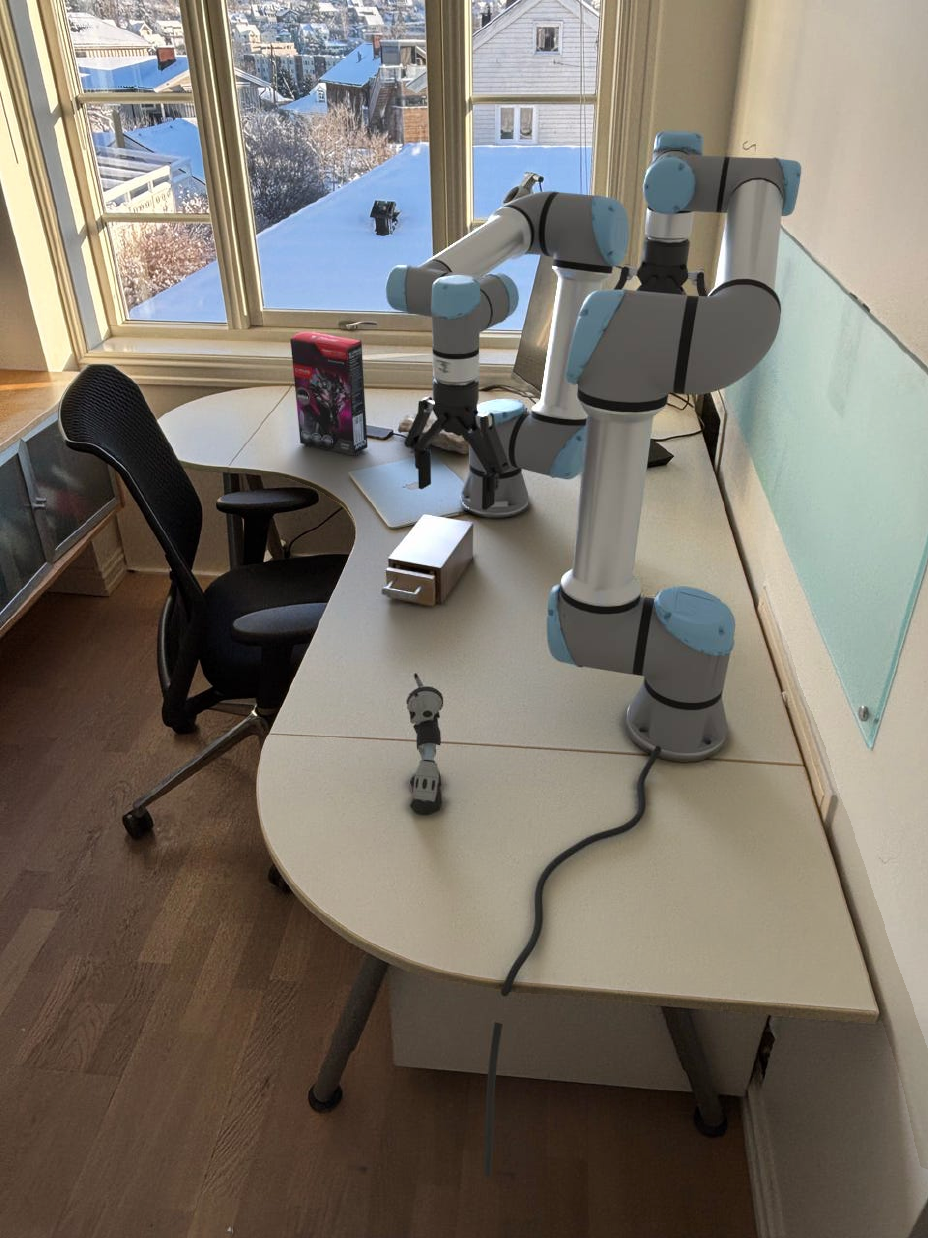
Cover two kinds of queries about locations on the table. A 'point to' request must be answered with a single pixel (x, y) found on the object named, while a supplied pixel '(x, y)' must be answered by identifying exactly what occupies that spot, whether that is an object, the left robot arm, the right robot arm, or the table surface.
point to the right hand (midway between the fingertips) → (651, 364)
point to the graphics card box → (329, 392)
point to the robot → (426, 746)
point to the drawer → (411, 584)
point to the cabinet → (437, 550)
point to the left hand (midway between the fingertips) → (455, 496)
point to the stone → (441, 440)
